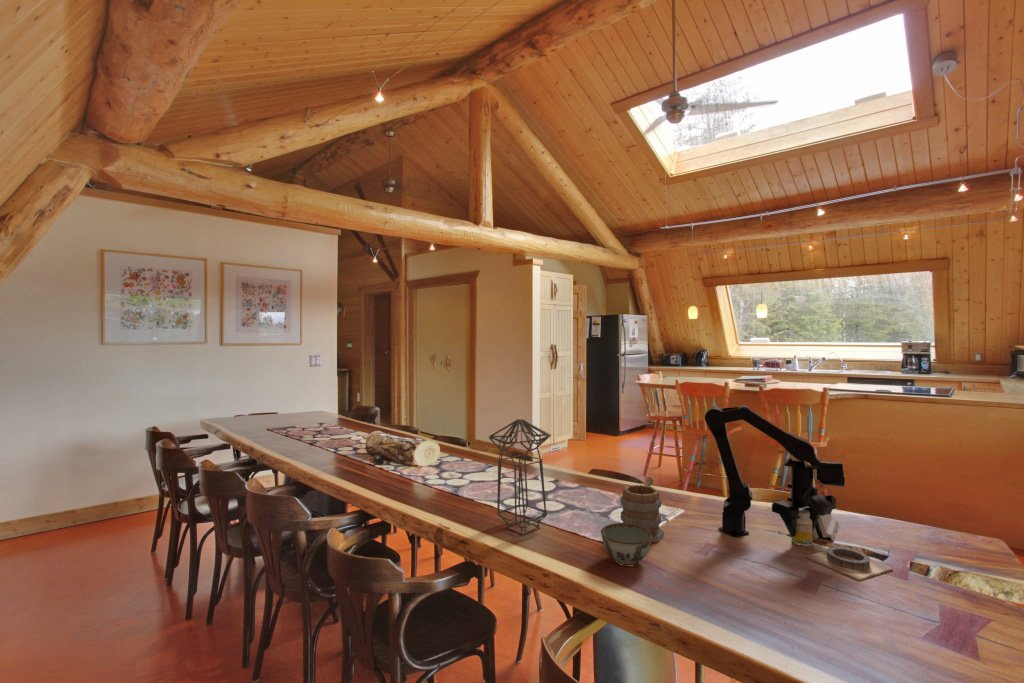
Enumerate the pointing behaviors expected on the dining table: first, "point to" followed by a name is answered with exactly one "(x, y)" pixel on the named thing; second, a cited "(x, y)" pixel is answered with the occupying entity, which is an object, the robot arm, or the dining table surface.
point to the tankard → (642, 508)
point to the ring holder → (849, 562)
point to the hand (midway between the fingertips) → (801, 534)
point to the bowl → (626, 542)
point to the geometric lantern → (520, 468)
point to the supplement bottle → (803, 529)
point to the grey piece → (825, 527)
